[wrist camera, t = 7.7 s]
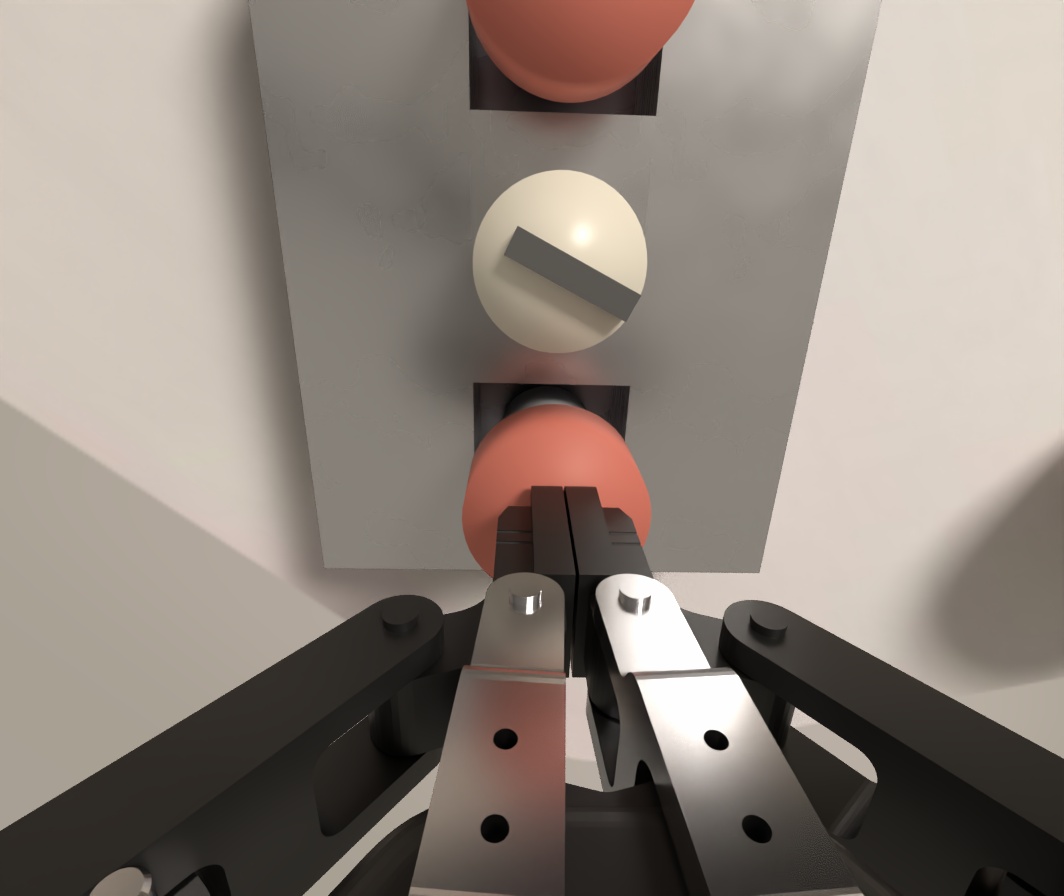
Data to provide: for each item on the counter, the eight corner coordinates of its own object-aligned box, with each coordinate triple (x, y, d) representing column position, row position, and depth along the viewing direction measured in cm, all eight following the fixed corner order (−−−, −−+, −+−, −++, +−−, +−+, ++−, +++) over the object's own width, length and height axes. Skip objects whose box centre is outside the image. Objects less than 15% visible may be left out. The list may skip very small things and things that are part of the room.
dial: (463, 290, 15) (439, 306, 12) (527, 154, 14) (521, 128, 10) (583, 354, 15) (593, 387, 12) (655, 228, 14) (686, 226, 11)
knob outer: (479, 488, 19) (463, 597, 14) (478, 363, 18) (459, 430, 12) (606, 490, 20) (641, 599, 14) (617, 366, 18) (661, 434, 12)
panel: (364, 496, 23) (324, 568, 18) (304, -128, 15) (211, -276, 11) (711, 501, 23) (759, 572, 18) (811, -105, 16) (933, -238, 11)
